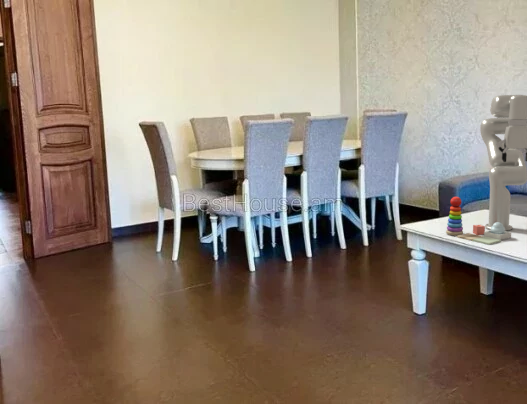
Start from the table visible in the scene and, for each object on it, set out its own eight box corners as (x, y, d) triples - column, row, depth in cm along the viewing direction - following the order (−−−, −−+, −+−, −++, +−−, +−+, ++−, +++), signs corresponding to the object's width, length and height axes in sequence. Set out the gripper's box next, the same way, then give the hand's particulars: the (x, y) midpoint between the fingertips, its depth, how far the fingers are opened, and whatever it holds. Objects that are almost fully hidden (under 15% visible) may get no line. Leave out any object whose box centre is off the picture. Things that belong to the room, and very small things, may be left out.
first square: (456, 237, 260) (456, 235, 260) (468, 234, 265) (468, 233, 265) (471, 240, 253) (472, 239, 253) (483, 238, 258) (483, 236, 258)
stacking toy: (442, 233, 268) (443, 196, 265) (453, 231, 272) (455, 194, 268) (455, 236, 261) (456, 198, 258) (466, 234, 265) (468, 196, 262)
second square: (472, 241, 253) (472, 239, 253) (484, 238, 257) (484, 236, 257) (488, 244, 246) (488, 243, 246) (500, 241, 250) (500, 240, 250)
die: (472, 232, 268) (473, 224, 267) (480, 232, 268) (481, 223, 267) (476, 234, 264) (477, 226, 263) (484, 234, 264) (485, 225, 263)
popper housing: (483, 237, 259) (484, 231, 259) (494, 234, 264) (495, 229, 263) (499, 240, 252) (500, 235, 252) (511, 237, 257) (511, 232, 256)
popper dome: (488, 232, 259) (488, 222, 258) (495, 230, 262) (496, 220, 261) (499, 235, 254) (499, 224, 253) (507, 233, 257) (507, 222, 256)
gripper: (535, 122, 245) (533, 160, 248) (495, 123, 248) (493, 160, 251) (541, 123, 237) (538, 162, 241) (499, 124, 240) (497, 162, 244)
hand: (515, 161), depth 246 cm, fingers open, 9 cm apart
